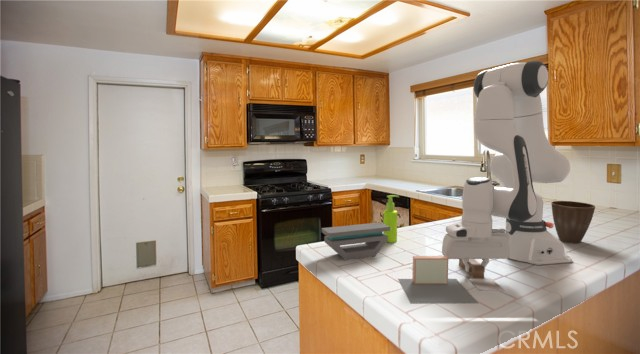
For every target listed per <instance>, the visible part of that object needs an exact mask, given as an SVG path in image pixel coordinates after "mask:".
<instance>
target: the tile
mask: <svg viewBox="0 0 640 354" xmlns="http://www.w3.org/2000/svg"><path fill="white" fill-rule="evenodd" d="M411 279H412V282H413V283H414V284H448V279H449V259H448V257H447V256H444V255H413V256H412V277H411Z"/></svg>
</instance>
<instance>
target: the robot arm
mask: <svg viewBox="0 0 640 354" xmlns="http://www.w3.org/2000/svg"><path fill="white" fill-rule="evenodd" d="M548 82H549V70H548V68H547V65H546V64H545V63H544V62H542V61H541V60H540V61H539V60H529V61H527V62H515V63H510V64H509V63H508V64H506V65H501V66H498V67H494V68H492V69H491V68H489V69H485V70H483V71H481V72H479V73H478V74H477V76H476V77H475V79H474V81H473V91H474V94H475V96H476V98H477V102H476V107H475V108H476V109H475V115H474V116H475V118H474V120H475V121H474V132H475V133H474V134H475V138H476V140H478V143H480V144H481V145H483V146H484V147H485V148H488V149H490V150H492V151H495V152H497V153H495V155H493V157H492V158H491V161H490V164H489V169H490V172H491V174H492V175H493V176H494V177H495V178H496V179H497V180H498V181H499V182H500V183H501V184H502V186H495V185H493V181H492V179H491V178H489V177H484V176H477V177H475V176H474V177H470V178H468V179H466V180H465V182H464V185H463V191H462V199H461V208H462V216H461V219H460V220H461V221H458V222H455V223H452V224H449V225H447V226H445V232H446V234H444V236H443V239H442V245H441V254H442V256H447V257H448V260H459V259H462V261H463V263H464V265H465V269H464V270H465V271H464V272H466V273H468V272H472V267H471V266H470V265H468V263H467V262H469V259H475V260H481V263H480V264H481V265H482V266H484V273H485V272H486V267H487V265H488V264H489V263H490V260H499V259H500V260H507V259H510V260H514V261H519V262H522V263H523V262H524V263H527V264H531V265H536V266H540V265H553V264H563V263H564V264H566V263H573V258H572V257H571V256H570V255H569V254H567V253H565V251H566V250H565V246H564V245H565V244H564V243H563V241H561V240H559V238H558V237H556V236H555V235H554V234H552V232H550V231H548V228H549V229H553V228H555V224H554V222H550V221H545V220H544V219H543V216H544V215H543V214H544V201H543V198H542V197H541V196H540V195H539V194H538V193H536V192H535V189H534V185H533V183H539V184H552V183H562V182H563V181H564V180H565V179H566V178H568V176H569V174H570V172H571V164H570V161H569V159H568V158H567V156H565V155H564V154H563V153H561V152H560V151H558V149H556V148H555V147H554V146H553V145H552V144H551V143H550V141H549V139H548V138H547V135H546V132H545V127H544V126H545V125H544V118H543V117H544V115H543V105H542V104H543V103H542V99H541V94H542V93H543V91H544V90H545V89H546V87H547V85H548ZM492 216H493V217H498V218H504V219H505V228H498V229H497V228H493V217H492Z"/></svg>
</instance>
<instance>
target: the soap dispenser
mask: <svg viewBox="0 0 640 354" xmlns="http://www.w3.org/2000/svg"><path fill="white" fill-rule="evenodd" d="M386 198H388V201H387V202H386V205H385V207H386V209H385V210H383V216H382V217H383V220H382V221H383V222H382V223H383V224H385V225H387V226H389V227H390V231H384V232H383V234H385V235H387V242H386V243H391V244H392V243H397V241H398V210H395V203H394V202H393V198H400V196H399V195H397V194H396V195H395V194H390V195H386Z"/></svg>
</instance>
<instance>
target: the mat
mask: <svg viewBox="0 0 640 354" xmlns="http://www.w3.org/2000/svg"><path fill="white" fill-rule="evenodd" d="M397 281H398V282H399V284H400V286H401V288H402V289H403V292H404V293H405V295H406V298H407V299H408V301H409V303H410V305H412V304H415V305H416V304H418V305H419V304H425V305H426V304H479V301H478V300H477V299H476V298H475V297H474V296H473V295H472V294H471V293H470V292H469V290H467V289H466V288H465V287H464V285H463V284H462V283H460V281H459V280H458V279H457V278H448V284H414V283H413V282H412V278H397Z"/></svg>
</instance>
